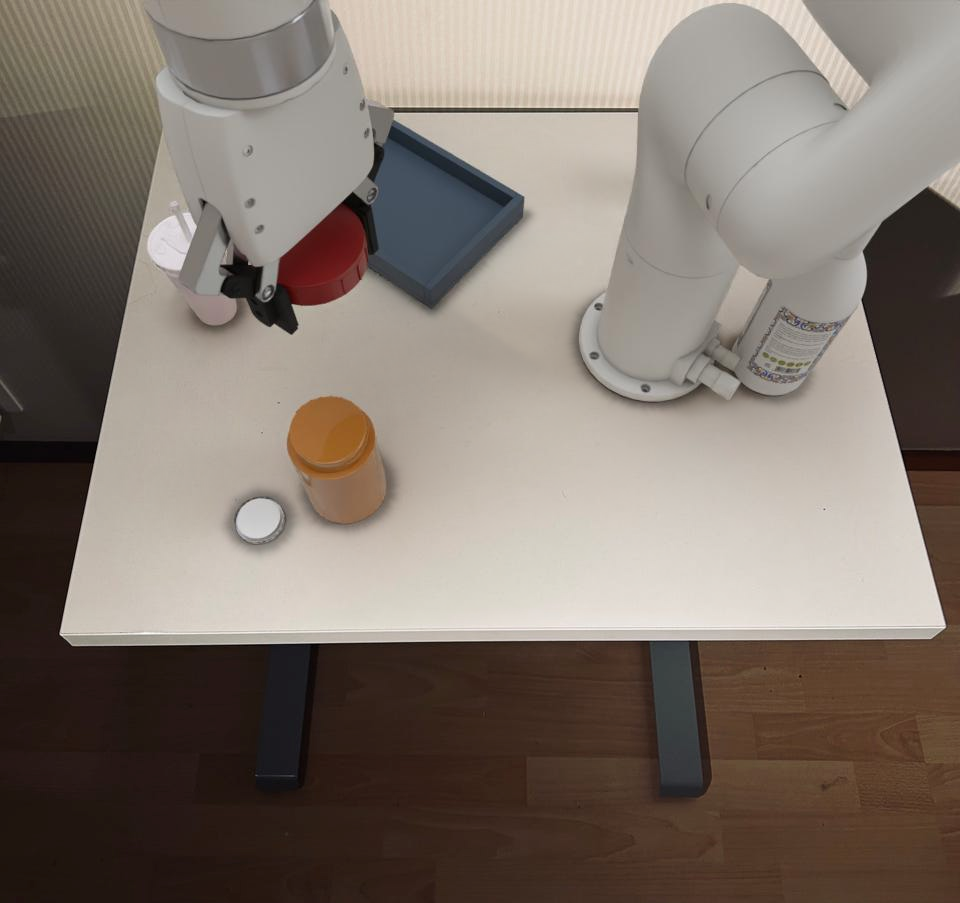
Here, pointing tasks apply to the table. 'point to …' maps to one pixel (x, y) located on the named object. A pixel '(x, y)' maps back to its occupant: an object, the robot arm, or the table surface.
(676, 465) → the table surface
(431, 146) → the tray
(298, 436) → the jar
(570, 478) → the table surface
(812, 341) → the bath foam
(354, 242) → the lid
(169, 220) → the smoothie
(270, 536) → the white grey disc
